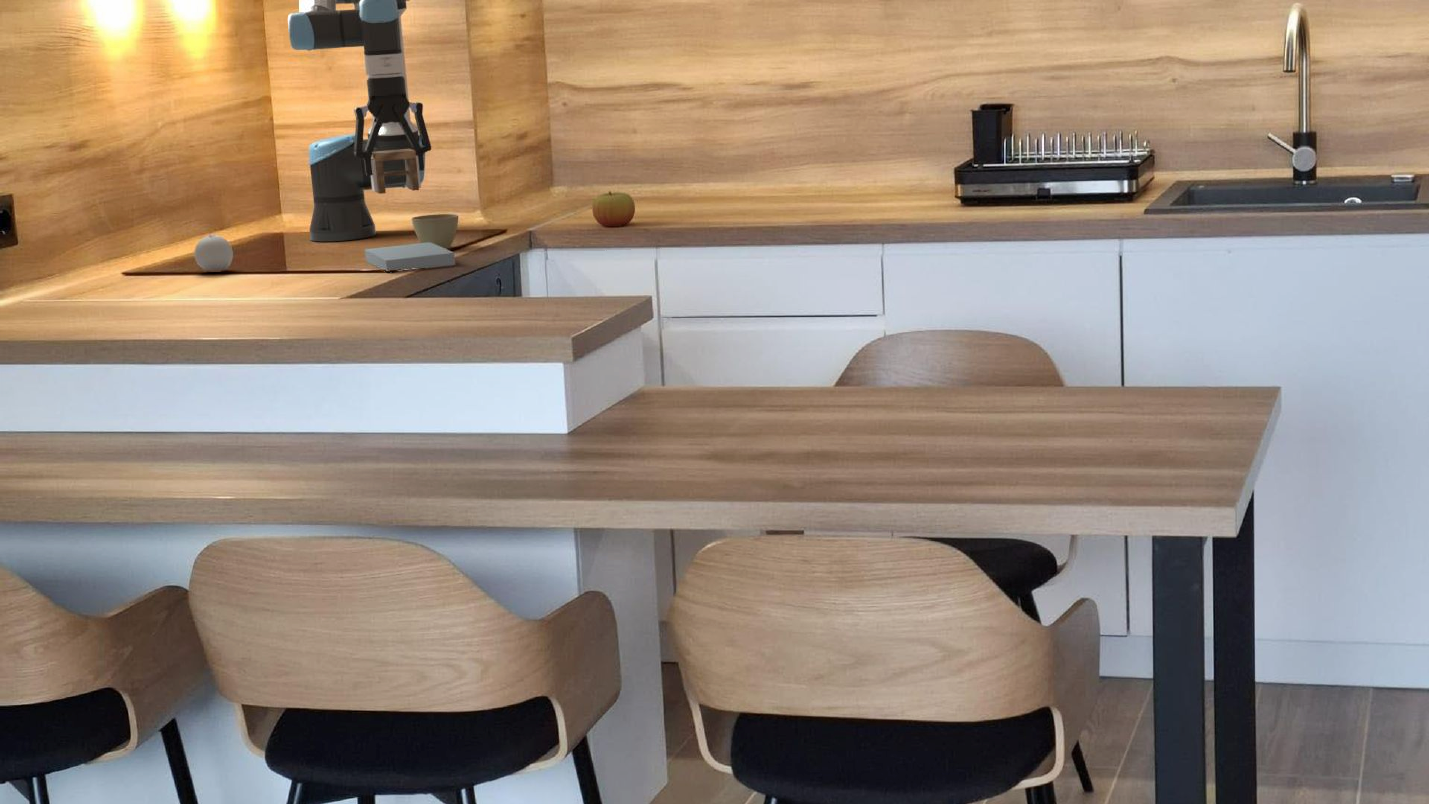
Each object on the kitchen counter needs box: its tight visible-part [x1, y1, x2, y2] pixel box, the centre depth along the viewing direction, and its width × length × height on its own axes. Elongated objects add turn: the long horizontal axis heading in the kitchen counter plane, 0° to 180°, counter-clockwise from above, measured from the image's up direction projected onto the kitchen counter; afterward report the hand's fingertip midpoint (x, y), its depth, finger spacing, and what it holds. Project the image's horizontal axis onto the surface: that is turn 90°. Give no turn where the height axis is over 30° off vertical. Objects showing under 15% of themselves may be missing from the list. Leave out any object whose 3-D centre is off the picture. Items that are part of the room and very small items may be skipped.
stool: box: [371, 149, 420, 195], centre depth 354 cm, size 8×6×8 cm
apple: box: [591, 190, 636, 228], centre depth 398 cm, size 10×10×8 cm
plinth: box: [364, 242, 456, 271], centre depth 359 cm, size 20×14×2 cm
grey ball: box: [193, 233, 234, 271], centre depth 362 cm, size 8×8×8 cm
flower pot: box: [411, 213, 459, 249], centre depth 376 cm, size 10×10×7 cm
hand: (396, 189), depth 355 cm, fingers closed on stool, 8 cm apart
